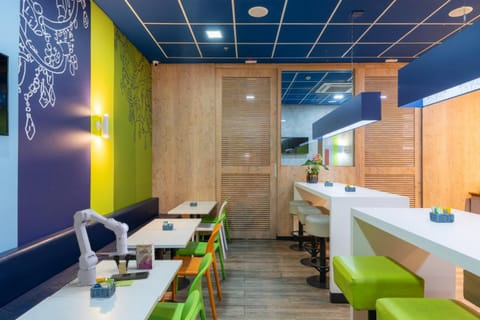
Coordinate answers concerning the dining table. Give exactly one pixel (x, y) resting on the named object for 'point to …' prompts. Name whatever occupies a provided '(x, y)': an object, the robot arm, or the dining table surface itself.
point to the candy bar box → (145, 256)
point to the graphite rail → (130, 276)
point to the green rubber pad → (124, 283)
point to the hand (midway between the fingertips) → (122, 267)
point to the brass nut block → (122, 268)
